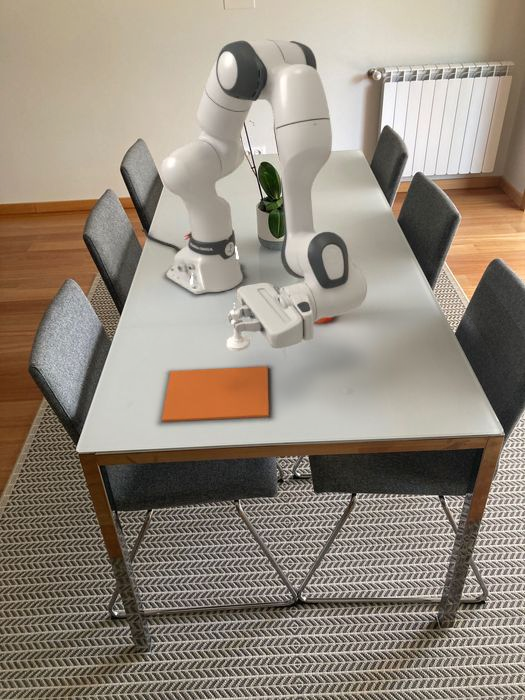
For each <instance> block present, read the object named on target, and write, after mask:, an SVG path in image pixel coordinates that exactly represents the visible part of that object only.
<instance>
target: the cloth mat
mask: <svg viewBox="0 0 525 700" xmlns="http://www.w3.org/2000/svg"><path fill="white" fill-rule="evenodd" d="M268 370H269V369H268V366H248V367H247V366H246V367H230V368H229V367H227V368H208V369H188V370H187V369H185V370H171V371H170V373H169V378H168V383H167V390H166V394H165V400H164V405H163V411H162V416H161V422H186V421H187V422H188V421H205V420H206V421H207V420H208V421H209V420H227V419H247V418H248V419H249V418H250V419H251V418H269V417H270V408H269V405H270V404H269V372H268Z"/></svg>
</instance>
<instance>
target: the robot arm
mask: <svg viewBox="0 0 525 700" xmlns="http://www.w3.org/2000/svg"><path fill="white" fill-rule="evenodd" d="M206 80H207V81H206V83H205V86H204V89H203V92H202V95H201V98H200V101H199V104H198V108H197V110H196V113H195V114H196V115H195V116H196V122H197V123H198V125H199V127H200V129H201V132H200V134H199V136H198V137H197V138H196V139H195V140H193V141H192V142H189V143H187V144H185V145H182V146H180V147H179V148H176V149H175V150H173V151H172V152H170V154H168V155H167V156H166V157H165V158H164V159H163V160H162V162H161V165H160V176H161V181H162V183H163V184H164V186H165V188H166V189H168V191H170V192H171V193H172V194H174V195H176V196H178V197H179V198H180V199H181V200H182V202H183V204H184V205H185V208H186V211H187V215H188V220H189V226H190V227H189V228H190V232H189V233H188V234H185V235H184V240H185V241H186V240H188V244H186V245H185V246H184V247H182V248H181V249H180V248H179V247H178V246H176V245H174V244H172V243H169V242H165V241H162V240H160V239H157V238H155V237H153V236H151V235H150V234H149V233H148V231H147V229H145V228H143V229H142V231H141V232H142V233H144V235H145V236H146V237H147V238H148V239H150V240H152V241H154V242H156V243H159V244H162V245H164V246H168V247H171V248H173V249H175V250H176V251H177V253H176V254H175V255H174V258H173V265H172V266H171V267H170V268H169V269H168V270H167V272H166V277H167V278H168V279H169V280H171V281H172V282H174V283H176V284H178V285H179V286H181V287H183V288H184V289H186V290H187V291H189V292H191V293H192V294H194V295H201V294H206V293H220V292H224V291H228V290H230V289H234V288H235V287H237V286H238V285H240V284H241V283H242V282H243V279H244V275H243V272H242V270H241V264H240V262H239V254H238V249H237V246H236V236H235V235H236V234H235V230H234V229H233V221H232V209H231V205H230V203H229V201H227V200H226V199H225V198H224V197H222V196H220V195H218V193H217V190H216V183H217V182H219V181H221V180H222V179H224V178H226V177H228V176H229V175H231V174H233V173H234V172H235V171H236V170H237V169H238V168H239V167H240V166H241V165H242V164H243V162H244V160H245V154H246V151H245V146H244V143H243V142H242V140H241V134H242V130H243V127H244V125H245V123H246V120H247V118H248V115H249V113H250V110H251V107H252V105H253V103H254V102H256V101H258V100H265V101H267V102H268V103H269V105H270V106H271V110H272V115H273V116H272V117H273V123H274V125H273V126H274V130H275V138H276V145H277V151H278V159H279V171H280V188H281V200H282V210H283V211H282V212H283V213H282V214H283V224H284V236H283V241H282V245H281V250H280V260H281V264H282V266H283V268H284V270H285V272H287V273H288V274H289V275H290V276H292V277H294V278H296V279H304V280H303V281H301V282H296V283H293V284H289V285H286V286H282V287H280V288H279V286H277V285H274V284H271V283H268V282H258V283H252V284H247V285H242V286H240V287H239V288H238V289H236V296H237V303H238V304H239V305H240V306H239V308H237V309H238V310H240V315H239V319H240V321H236V322H234V325H233V330H234V329H235V330H236V332H237V333H239V332H241V333H242V332H252V333H257V332H260V334H261V335H262V336H263V338H264V339H265V340H266V342H267V343H268V344H269V346H270V347H271V348H273V349H285V348H287V347H291V346H294V345H297V344H299V343H302V341H305V342H306V341H310V340H312V339H314V323H317V322H316V321H317V320H319V319H321V318H324V317H333V318H334V317H337V316H341V315H343V314H346V313H348V312H351V311H353V310H355V309H357V308H359V307H360V306H361V305H363V303H364V302H365V300H366V298H367V293H368V284H367V279H366V277H365V274H364V273H363V272H362V271H361V270H360V269H358V268H357V267H356V265H355V264H354V262H353V261H352V258H351V256H350V254H349V251H348V247H347V244H346V242H345V241H344V239H343V238H342V237H341V236H340V235H339V234H337V233H335V232H332V231H316V230H315V227H314V215H313V205H312V203H313V202H312V201H313V200H312V189H313V184H314V182H315V179H316V178H317V176H318V174H319V173H320V171H321V170H322V168H323V167H324V166H325V165H326V163H327V162H328V161H329V159H330V156H331V155H332V145H333V130H332V123H331V115H330V109H329V105H328V99H327V96H326V92H325V89H324V84H323V82H322V79H321V76H320V73H319V72H318V68H317V59H316V56H315V54H314V52H313V50H312V49H311V48H310V47H309V46H308V45H306V44H304V43H301V42H299V41H295V40H290V41H286V40H282V39H280V40H279V39H271V38H268V39H260V40H259V39H258V40H257V39H256V40H248V41H246V40H236V41H233V42H230V43H227V44H225V45H224V46H223V47H222V48H221V50H220V52H219V53H218V56H217V59H216V60H215V62H214V64H213V66H212V69H210V73H209V75H208V78H207V79H206ZM242 318H249V319H250V320H251V321H243V320H242ZM232 319H233V318H232V316H231V314H230V312H228V314H227V321H229V323H230V324H231V320H232Z"/></svg>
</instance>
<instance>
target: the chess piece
mask: <svg viewBox="0 0 525 700" xmlns="http://www.w3.org/2000/svg"><path fill="white" fill-rule="evenodd" d="M232 306H233V307H232V309H231V310H230V311H229V313H230V314H231V316H232V318H233V319H232V320H231V323H230V324H231V325H233V326H234V322H236V321H240V320H241V318H240V319H239V315H240V310H238V309H239V308H237V305H236V302H233V303H232ZM250 346H251V341H250V338H249V337H248V336H247V335H244V334H242V332H239V333H237V332H236V330H235V329H234V328H233V335H232V336H229V337H228V338H227V340H226V348H227V349H228V350H230V351H232V352H242V351H245V350H247V349H248V348H249V347H250Z"/></svg>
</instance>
